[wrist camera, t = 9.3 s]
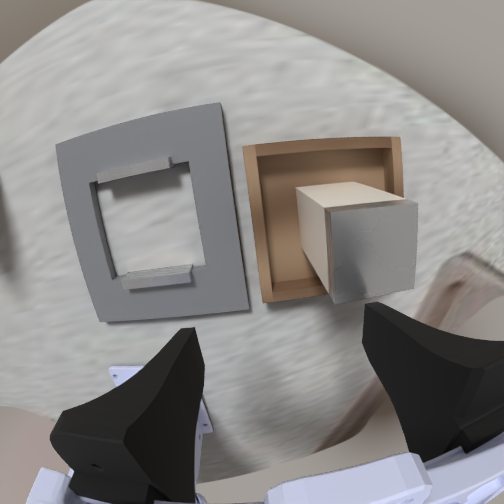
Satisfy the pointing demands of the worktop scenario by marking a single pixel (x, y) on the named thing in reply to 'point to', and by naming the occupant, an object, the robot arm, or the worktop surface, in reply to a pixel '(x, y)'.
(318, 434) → the worktop surface
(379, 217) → the block
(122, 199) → the worktop surface
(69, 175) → the frame
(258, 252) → the tray
